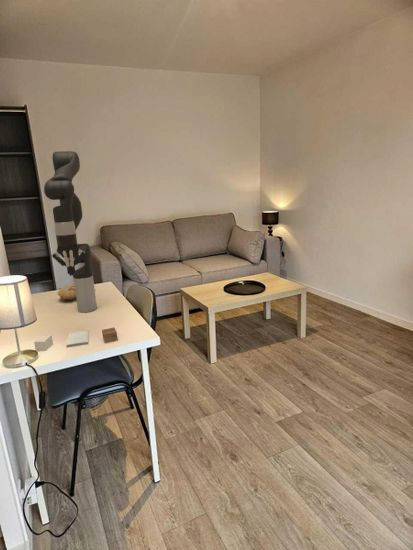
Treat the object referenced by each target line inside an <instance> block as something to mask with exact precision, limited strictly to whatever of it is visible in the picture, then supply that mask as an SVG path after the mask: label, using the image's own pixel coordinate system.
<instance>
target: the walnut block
mask: <svg viewBox="0 0 413 550" xmlns="http://www.w3.org/2000/svg"><path fill="white" fill-rule="evenodd" d="M101 333H102V340H103V342H104V344H107V343H112V342H117V341H118V340H119V339H118V334H117V333H118V332H117V330H116V328H115V327H108V328H103V329H101Z"/></svg>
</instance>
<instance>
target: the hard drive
mask: <svg viewBox="0 0 413 550" xmlns="http://www.w3.org/2000/svg"><path fill="white" fill-rule="evenodd" d="M89 338H90V330H88V329H87V330H80V331H72V332H68V334H67V340H66V345H65V346H66V348H72V347H78V346H86V345H89V342H90V341H89V340H90V339H89Z"/></svg>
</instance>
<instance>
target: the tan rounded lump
mask: <svg viewBox="0 0 413 550" xmlns="http://www.w3.org/2000/svg"><path fill="white" fill-rule="evenodd" d="M57 296H59V298H60V299H63V300H69V301H76V294H75V287H74V283H71V284H66V285H64V286H62V287H61V288H60V289H58V291H57Z"/></svg>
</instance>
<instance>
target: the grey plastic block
mask: <svg viewBox="0 0 413 550" xmlns="http://www.w3.org/2000/svg"><path fill="white" fill-rule="evenodd" d="M33 344H34V349H35V352H46V351H48V349H49V348H50V347H51V346H53V345H54V342H53V335H52V334H42V335H39V337H38V338H37V339H36V340H34V341H33Z"/></svg>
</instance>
